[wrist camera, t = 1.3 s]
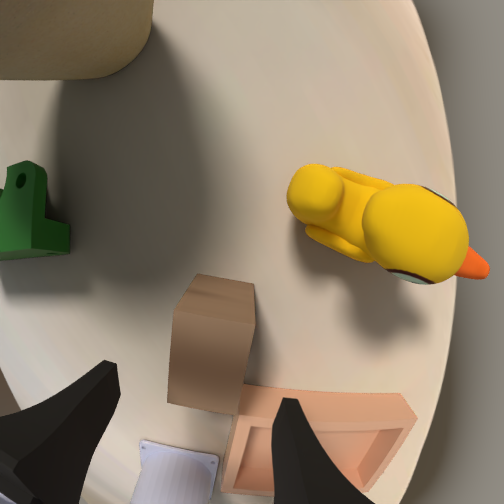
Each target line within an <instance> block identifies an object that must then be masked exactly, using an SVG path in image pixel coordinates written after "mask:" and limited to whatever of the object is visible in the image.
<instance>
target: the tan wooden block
mask: <svg viewBox="0 0 504 504" xmlns="http://www.w3.org/2000/svg"><path fill="white" fill-rule="evenodd" d="M254 330H255V303H254V284H252V283H246V282H241V281H235V280H229V279H224V278H218V277H213V276H207V275H202V274H197V275H196V277H195V278H194V280H193V281H192V283H191V284H190V286H189V287H188V289H187V290H186V292H185V293H184V295H183V297H182V298H181V300H180V301H179V303H178V304H177V306H176V308H175V309H174V315H173V325H172V336H171V348H170V362H169V377H168V395H167V403H171V404H176V405H180V406H185V407H190V408H195V409H200V410H205V411H211V412H217V413H223V414H229V415H236V413H237V409H238V404H239V400H240V395H241V391H242V386H243V381H244V377H245V372H246V367H247V363H248V358H249V353H250V349H251V344H252V339H253V334H254Z"/></svg>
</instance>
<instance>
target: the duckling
mask: <svg viewBox="0 0 504 504" xmlns="http://www.w3.org/2000/svg"><path fill="white" fill-rule="evenodd" d="M287 203H288V206H289V208H290V210H291V212H292V213H293V214H294V216H295V217H296V218H298V219H299V220H300V221H301V222H303V223H305V224H306V225H307V226H306V229H305V232H306V234H307V235H308V236H309V237H310V238H312V239H314V240H315V241H317V242H319V243H321V244H323V245H325V246H327V247H329V248H331V249H333V250H335V251H337V252H340V253H342V254H344V255H346V256H348V257H350V258H352V259H355V260H357V261H361V262H365V263H371V262H373V261H376V262H377V263H378V264H379V265H380V266H382V267H383V268H384V269H385V270H387V271H388V272H390V273H392V274H393V275H395V276H397V277H399V278H401V279H404V280H406V281H409V282H412V283H416V284H425V285H428V284H436V283H440V282H443V281H445V280H447V279H449V278H450V277H452V276H453V275H456V276H459V277H464V278H470V279H484V278H486V277H487V276H488V274H489V271H490V267H489V265H488V263H487V262H486V261H485V260H484V259H483V258H482V257H481V256H479V255H478V254H477V253H476V252H475V251H474V250H473V249H472V248H470V247H469V246H468V245H469V235H468V230H467V226H466V223H465V221H464V219H463V216H462V215H461V213H460V212H459V210H458V209H457V208H456V206H455V205H454V204H453V203H452V202H451V201H450V200H448V199H447V198H446V197H444V196H443V195H441V194H439V193H438V192H436V191H434V190H431V189H429V188H426V187H423V186H419V185H414V184H398V185H393V184H391V183H389V182H387V181H384V180H381V179H377V178H373V177H369V176H366V175H363V174H360V173H357V172H354V171H351V170H348V169H345V168H341V167H332V168H329V167H327V166H324V165H320V164H309V165H305V166H303V167H301V168H300V169H299V170H297V172H296V173H295V174H294V176H293V177H292V180H291V182H290V185H289V187H288V191H287Z"/></svg>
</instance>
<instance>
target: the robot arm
mask: <svg viewBox="0 0 504 504" xmlns="http://www.w3.org/2000/svg"><path fill="white" fill-rule="evenodd" d="M120 395H121V393H120V386H119V379H118V371H117V364H116V363H113V362H109V361H106V360H103V361H102V362H101V363H99V364H98V365H97V366H95V367H94V368H93V369H91V370H90V371H89V372H87V373H86V374H85V375H83V376H82V377H81V378H79V379H78V380H77V381H75V382H74V383H72V384H71V385H69V386H68V387H67V388H65V389H63V390H62V391H60V392H59V393H57V394H55V395H54V396H52V397H50V398H49V399H47V400H45V401H43V402H41V403H39V404H37V405H34V406H32V407H30V408H27V409H25V410H22V411H20V412H17V413H13V414H10V415H6V416H2V417H0V504H79V500H80V496H81V492H82V488H83V484H84V481H85V477H86V474H87V471H88V468H89V465H90V462H91V459H92V456H93V454H94V451H95V449H96V447H97V445H98V443H99V441H100V439H101V437H102V435H103V433H104V432H105V430H106V428H107V426H108V424H109V422H110V420H111V418H112V416H113V414H114V412H115V409H116V407H117V404H118V401H119V398H120ZM139 447H140V458H141V468H142V470H141V472H140V475H139V478H138V481H137V484H136V487H135V490H134V493H133V495H132V498H131V501H130V504H208V503H209V500H210V499H211V496H212V491H213V486H214V482H215V477H216V472H217V467H218V462H219V457H218V456H217V455H213V454H207V453H201V452H196V451H190V450H185V449H180V448H176V447H171V446H167V445H163V444H159V443H155V442H151V441H147V440H140V443H139ZM271 451H272V465H273V478H274V504H375V503H373V502H372V501H371V500H370V499H368V498H367V497H366V496H365V495H363V494H362V493H361V492H360V491H359V490H358V489H357V488H356V487H355V486H354V485H353V484H352V483H351V482H350V481H349V480H348V479H347V478H346V477H345V476H344V475H343V474H342V473H341V471H340V470H339V469H338V468H337V466H336V465H335V464H334V463H333V461H332V460H331V459H330V457H329V456H328V454H327V453H326V451H325V450H324V448H323V447H322V445H321V444H320V442H319V440H318V439H317V437H316V435H315V433H314V431H313V430H312V428H311V426H310V424H309V422H308V420H307V418H306V416H305V414H304V412H303V409H302V407H301V405H300V402H299V400H298V399H296V398H285V397H283V399H282V401H281V404H280V407H279V409H278V412H277V414H276V417H275V420H274V422H273V425H272V437H271ZM213 461H214V462H213Z"/></svg>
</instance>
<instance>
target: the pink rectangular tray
mask: <svg viewBox="0 0 504 504" xmlns="http://www.w3.org/2000/svg"><path fill="white" fill-rule="evenodd" d="M283 397H285V398H296V399H298V400H299V402H300V405H301V407H302V409H303V412H304V414H305V416H306V418H307V420H308V422H309V424H310V426H311V428H312V430H313V431H314V433H315V435H316V437H317V439H318V440H319V442H320V444H321V445H322V447H323V448H324V450H325V451H326V453H327V454H328V456H329V457H330V459H331V460H332V461H333V463H334V464H335V465H336V466H337V468H338V469H339V470H340V471H341V473H342V474H343V475H344V476H345V477H346V478H347V479H348V480H349V481H350V482H351V483H352V484H353V485H354V486H355V487H356V488H357V489H358V490H359V491H360V492H361V493H363V492H368V491H369V490H370V489H371V488H372V486H373V485H374V484H375V482H376V481H377V480H378V478H379V477H380V476H381V474H382V473H383V472H384V470H385V469H386V468H387V466H388V465H389V463H390V462H391V460H392V459H393V457H394V456H395V454H396V453H397V451H398V450H399V448H400V447H401V445H402V444H403V442H404V441H405V439H406V437H407V436H408V434H409V432H410V431H411V429H412V427H413V426H414V424H415V422H416V421H417V419H418V418H417V416H416V415H415V413H414V412H413V410H412V409H411V408H410V406H409V405H408V403H407V402H406V400H405V399H404V398H403V396H402V395H401V393H386V394H367V393H333V392H316V391H302V390H291V389H281V388H272V387H264V386H256V385H248V384H243V386H242V391H241V395H240V400H239V404H238V409H237V413H236V415H234V416H233V420H232V425H231V429H230V434H229V439H228V443H227V448H226V452H225V457H224V461H223V470H222V481H221V492H225V493H233V494H243V495H256V496H274V478H273V465H272V451H271V437H272V425H273V422H274V420H275V417H276V414H277V412H278V409H279V407H280V404H281V401H282V399H283Z"/></svg>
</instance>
